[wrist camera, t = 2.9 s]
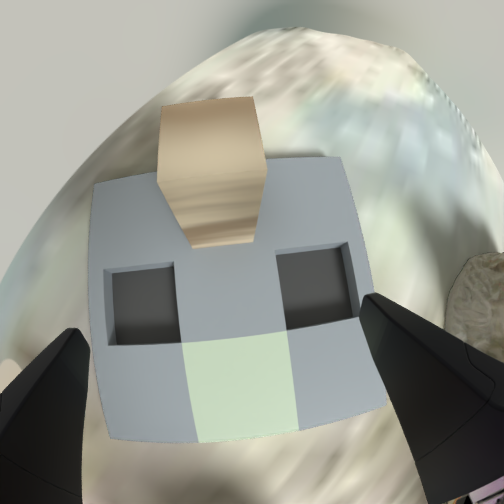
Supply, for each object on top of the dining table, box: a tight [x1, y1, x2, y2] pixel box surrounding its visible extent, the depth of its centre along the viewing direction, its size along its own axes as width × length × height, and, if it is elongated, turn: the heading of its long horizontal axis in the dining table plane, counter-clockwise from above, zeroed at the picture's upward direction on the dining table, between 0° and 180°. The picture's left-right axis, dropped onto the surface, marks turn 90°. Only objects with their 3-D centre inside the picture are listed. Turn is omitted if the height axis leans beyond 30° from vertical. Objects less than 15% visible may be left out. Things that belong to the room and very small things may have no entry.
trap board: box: [88, 157, 386, 443], centre depth 20 cm, size 22×22×2 cm
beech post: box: [157, 97, 268, 249], centre depth 16 cm, size 4×4×10 cm
